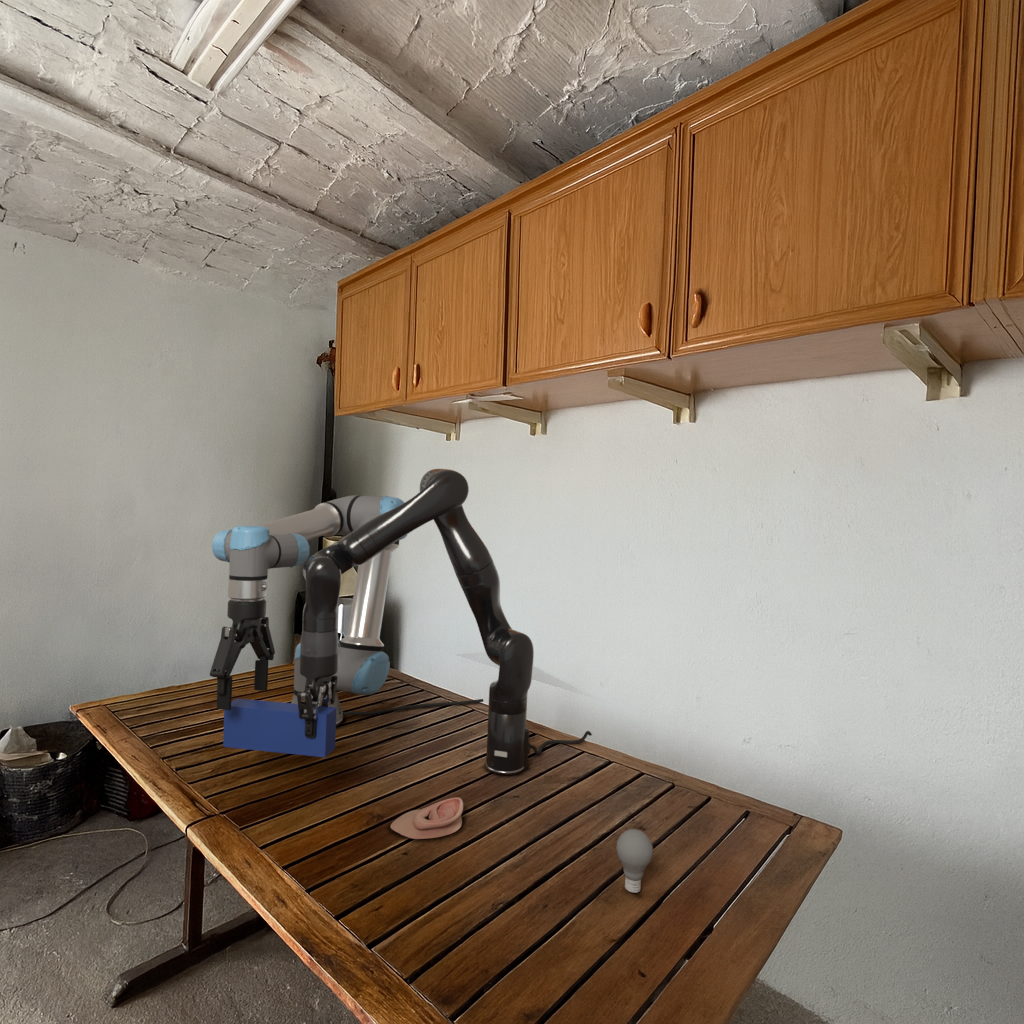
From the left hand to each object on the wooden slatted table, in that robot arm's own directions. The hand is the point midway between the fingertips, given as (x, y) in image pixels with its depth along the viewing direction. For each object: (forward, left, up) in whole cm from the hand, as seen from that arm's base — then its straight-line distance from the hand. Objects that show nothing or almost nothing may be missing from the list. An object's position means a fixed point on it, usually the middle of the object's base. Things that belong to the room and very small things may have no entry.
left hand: (243, 699), depth 134 cm
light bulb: (-26, +79, -20) cm, 85 cm away
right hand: (-9, +14, -5) cm, 17 cm away
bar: (-4, +7, -10) cm, 13 cm away
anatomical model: (-18, +38, -20) cm, 47 cm away
